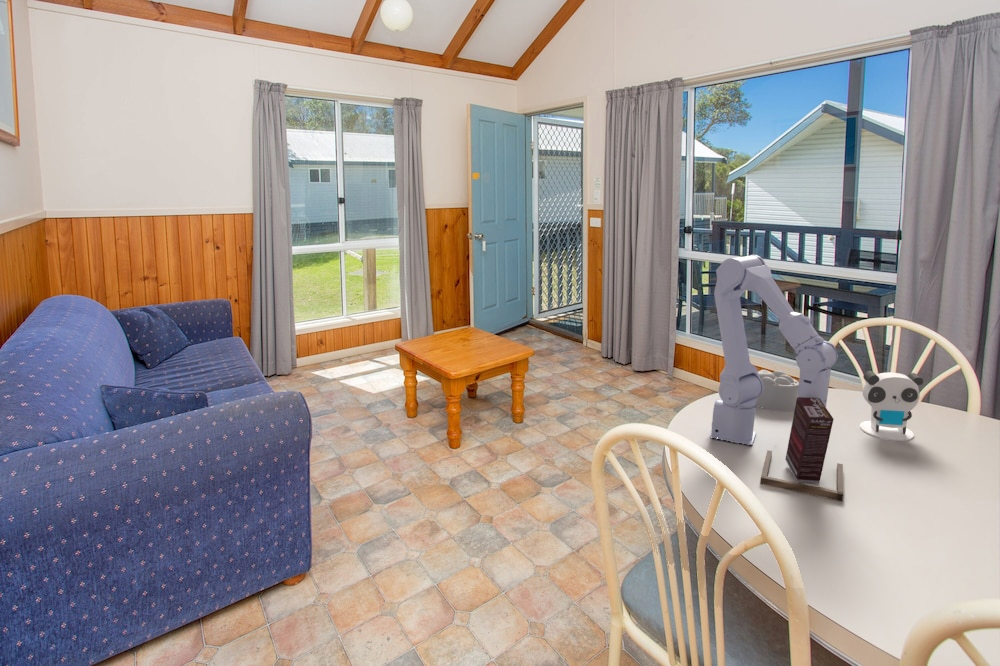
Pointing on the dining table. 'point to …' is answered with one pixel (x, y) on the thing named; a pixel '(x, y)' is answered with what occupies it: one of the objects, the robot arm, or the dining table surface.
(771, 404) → the lumpy-topped squat cylinder
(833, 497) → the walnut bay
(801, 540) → the dining table surface
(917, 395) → the panda figurine
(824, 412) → the supplement box
